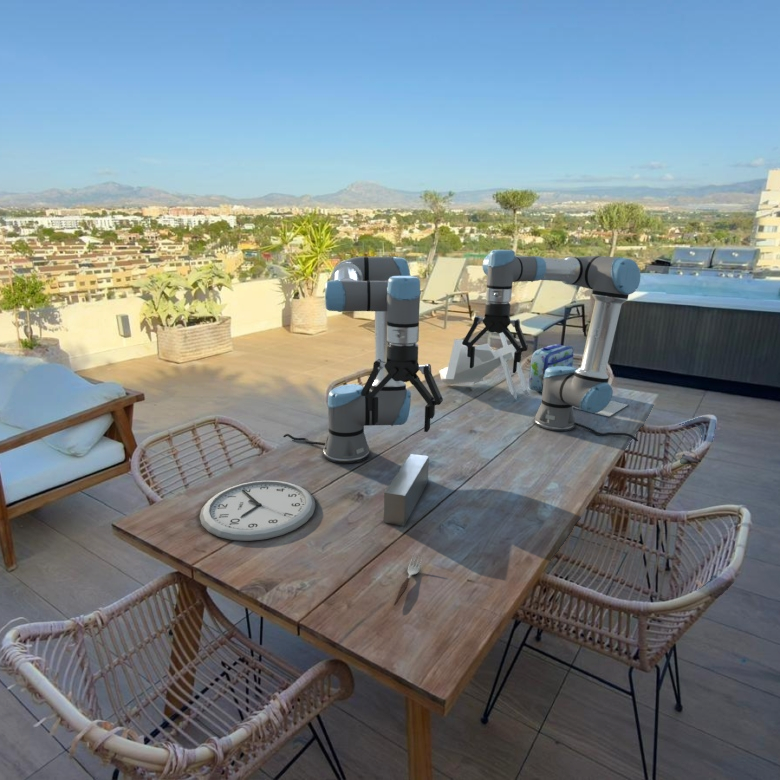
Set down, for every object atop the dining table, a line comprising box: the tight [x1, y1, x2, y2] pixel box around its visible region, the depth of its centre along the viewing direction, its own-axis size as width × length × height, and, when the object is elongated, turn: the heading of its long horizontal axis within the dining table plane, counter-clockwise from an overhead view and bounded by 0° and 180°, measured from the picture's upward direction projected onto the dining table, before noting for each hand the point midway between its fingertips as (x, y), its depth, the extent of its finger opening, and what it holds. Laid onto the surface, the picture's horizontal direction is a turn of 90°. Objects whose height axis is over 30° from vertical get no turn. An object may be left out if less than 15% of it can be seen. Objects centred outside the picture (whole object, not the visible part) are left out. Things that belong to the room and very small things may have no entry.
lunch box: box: [528, 344, 574, 393], centre depth 247 cm, size 26×11×21 cm, turn 134°
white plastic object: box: [438, 332, 531, 400], centre depth 245 cm, size 37×45×31 cm
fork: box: [393, 553, 424, 606], centre depth 112 cm, size 3×16×2 cm, turn 160°
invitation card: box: [573, 400, 629, 418], centre depth 226 cm, size 21×1×15 cm
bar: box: [383, 453, 430, 527], centre depth 144 cm, size 25×6×9 cm, turn 162°
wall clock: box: [199, 480, 316, 542], centre depth 140 cm, size 30×2×30 cm
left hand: (400, 426), depth 130 cm, fingers open, 13 cm apart
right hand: (492, 369), depth 165 cm, fingers open, 13 cm apart
